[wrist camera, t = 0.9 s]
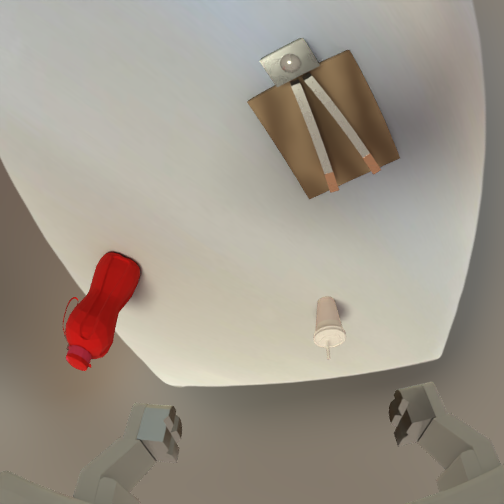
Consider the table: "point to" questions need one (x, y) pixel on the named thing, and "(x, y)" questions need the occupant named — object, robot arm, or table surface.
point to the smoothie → (328, 325)
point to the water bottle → (100, 310)
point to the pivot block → (289, 62)
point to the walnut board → (326, 124)
